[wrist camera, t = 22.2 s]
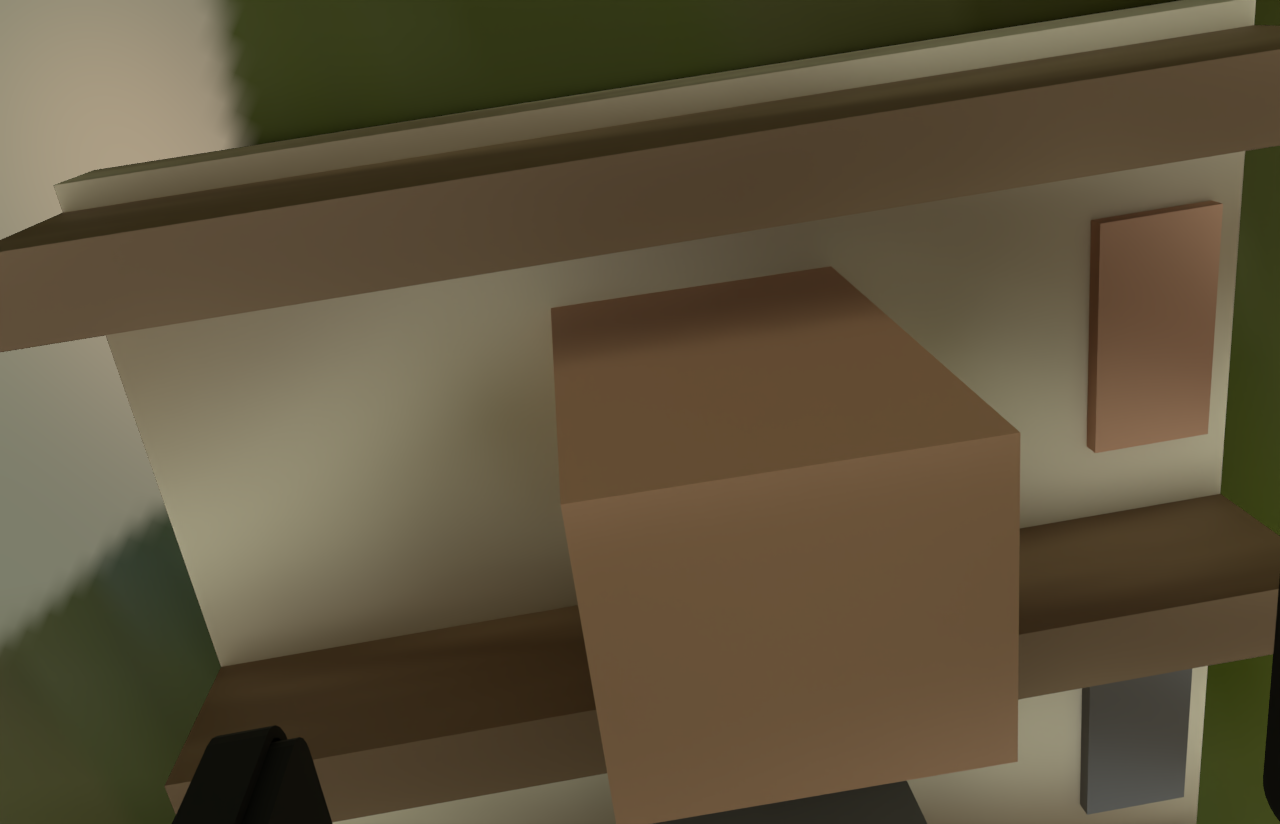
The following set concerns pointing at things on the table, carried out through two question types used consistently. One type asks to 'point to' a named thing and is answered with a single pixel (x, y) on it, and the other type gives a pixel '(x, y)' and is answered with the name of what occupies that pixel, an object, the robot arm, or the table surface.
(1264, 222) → the table surface
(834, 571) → the terracotta plug block
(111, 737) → the table surface
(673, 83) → the cream shelf rack
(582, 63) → the table surface
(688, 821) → the grey plug block
